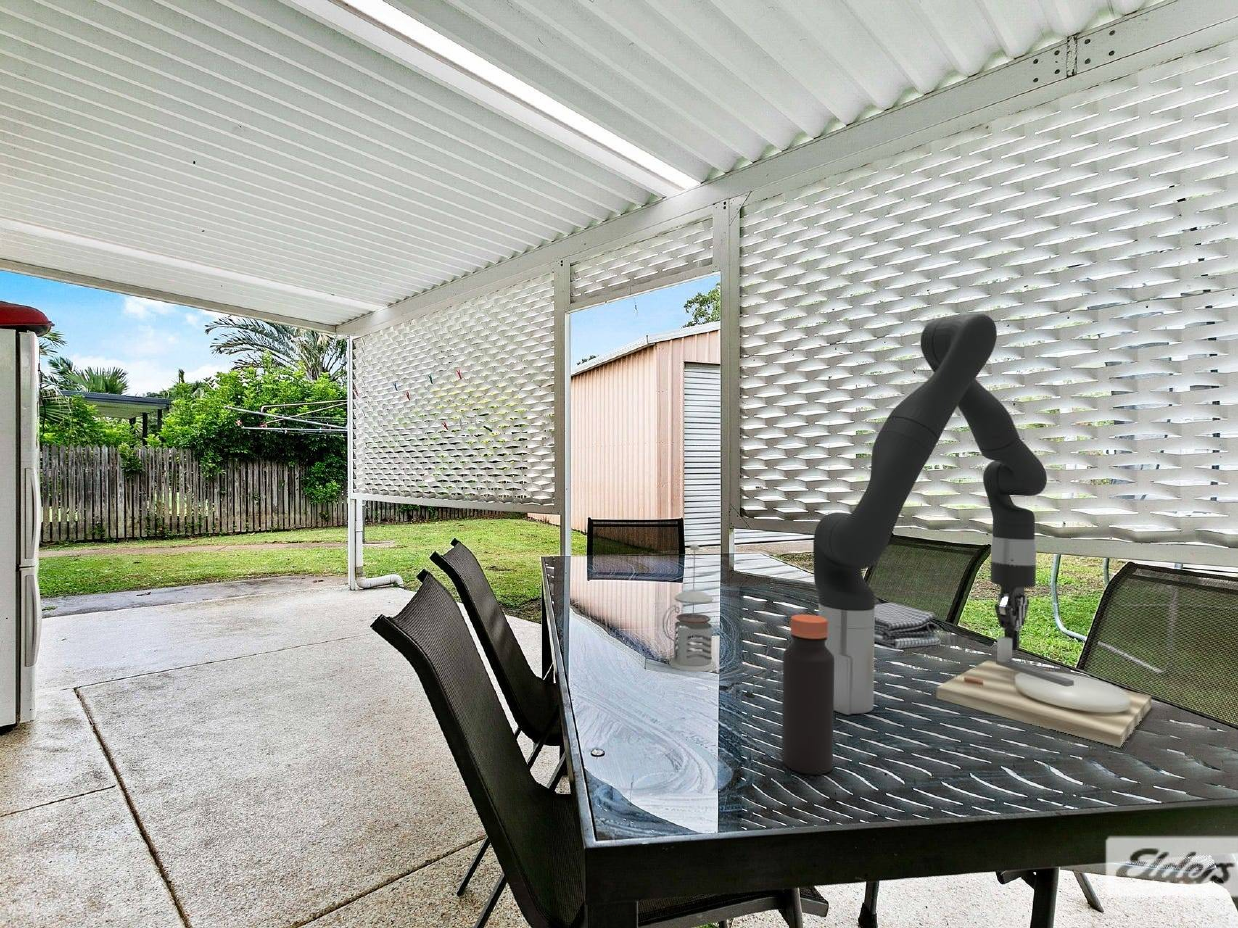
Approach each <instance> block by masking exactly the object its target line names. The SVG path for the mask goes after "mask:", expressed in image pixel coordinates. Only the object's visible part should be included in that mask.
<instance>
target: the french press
mask: <svg viewBox="0 0 1238 928" xmlns="http://www.w3.org/2000/svg"><path fill="white" fill-rule="evenodd" d="M689 550H691V551H693V576H695V567H696V566H695V564H696V563H695V562H696V560H695V559H696V551H699V550H700V545H698V544H696V543H693V544H691V545H690V546H689ZM692 581H693V584H692V585H693V589H691V590H684V591H682V592H680V593H678V594H676V595H675V596H674V600H675V602H677V603H682V604H690V605H692V613H691V612H690V613H689V612H688V613H687V612H686V613H680V610H681V609H680V607H679V606H676V605H675V604H673V605H670V606H669V607H668V608H667V610H665V613H664V614H663V618H662V629H663V631H662V632H663V634H664V635H665V637H666V638H667V639H669V640H671V641H672V642H673V657H672V659H670V661H669V662H668V663H669V665H670V666H671V667H672V668H674V669H676V670H681V671H684V672H695V673H696V672H707V671H712V670H714V669H715V668H716V667H717V664H716V662H715V661H713V660H712V639H713V637H712V636H713V635H712V631H713V630H712V629H713V624H711V623H709V622H710V621H711V616H709V615H706V614H700V613H695V610H694V609H695V605H702V604H703V605H704V604H710V603H712V602H713V600H714V598H713V597H712V596H710V595H709V594H707V593H706V592H703V591H701V590H696V589H695V578H693V580H692ZM673 607H674V608H673ZM671 608H673V609H672V610H671V611H669V610H670V609H671ZM677 609H678V611H677ZM674 611H675V613H676V614H677V615H676V617H675V619H677V621H676V622H674V636H673V637H674V639H673V637H671V636H670V633H669V629H668V623H669V619H670V616H671V614H672V613H673V612H674ZM668 612H669V614H668V616H667V619H666V615H667V613H668ZM665 619H666V623H665ZM665 624H666V625H665ZM685 627H686V628H685ZM691 636H692V638H691ZM691 643H693V644H691ZM692 649H694V650H692Z"/></svg>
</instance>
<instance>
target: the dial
mask: <svg viewBox="0 0 1238 928" xmlns="http://www.w3.org/2000/svg"><path fill="white" fill-rule="evenodd" d="M996 641H997V642H996V643H997V645H996V646H997V647H996V648H997V650H996V651H997V653H996V655H997V656H996V658H997V659H995V662H996V664H997V665H1000V666H1003V667H1007V668H1010V669H1013V670H1016V671H1019V672H1021V673H1018V674H1017V675H1016V676H1015V686H1016V688H1017V689H1018V690H1019V691H1020V692H1022V693H1024V694H1026V695H1028V696H1030V697H1032V698H1035V699H1037V700H1040V701H1043V702H1047V703H1050V704H1054V705H1058V706H1062V707H1066V708H1071V709H1077V710H1083V711H1091V712H1106V713H1112V712H1122V711H1126V710H1128V709H1129V708H1130V696H1129V694H1128V693H1126V692H1125V691H1123V690H1124V689H1122V688H1120V687H1118V686H1115V685H1113V684H1110V683H1107V682H1104V681H1101V680H1097V679H1094V678H1090V677H1086V676H1082V675H1081V676H1080V675H1077V674H1076V675H1075V674H1072V673H1071V674H1070V673H1064V672H1059V671H1058V672H1057V671H1047V670H1046V671H1045V670H1041V669H1037V668H1034V667H1031V666H1028V665H1024V664H1021V663H1017V662H1014V661H1013V650H1012V638H1009V637H1004V636H1002V635H1000V636H999V635H998V636H997V639H996Z"/></svg>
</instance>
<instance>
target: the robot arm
mask: <svg viewBox="0 0 1238 928" xmlns="http://www.w3.org/2000/svg"><path fill="white" fill-rule="evenodd" d="M997 338H998V333H997V326H996V323H995V321H994V320H993V319H992V318H991V317H990V316H989V315H986V314H984V313H965V314H960V315H955V316H954V315H952V316H947V317H941V318H938V319H934V320H932V321H930V322H929V323H927V324H926V326H925V327H924V328H923V330H922V333H921V335H920V349H921V353H922V356H923V357H924V359H925V361H926V363H927V364H928V367H930V369H931V370H932V372H933V374H932V375H931V376H930V377H929V378H928V379H927V380H926V381H925V382H924V383H922V385H920V386H919V387H918V388H917V389H915V390H914V391H912V392H911V393H910V394H908V396H906V397H905V398H904V399H902V400H901V402H899V404H897V405H896V406H895V407H894V408H893V409H892V410H891V412H890V414H889V415H888V417H887V418H886V420H885V422H884V423H883V425H882V427H881V428H880V430H879V432H878V434H877V436H876V438H875V440H874V442H873V445H872V448H871V449H872V451H871V461H870V465H871V466H870V477H869V481H868V484H867V487H866V489H865V492H864V493H863V494H862V497H861V498H860V500H859V502H858V503H857V505H856V506H855V508H854V509H853V511H852V512H851V513H849V512H839V511H838V512H837V511H836V512H831V513H828V514H826V515H825V516H823V517H822V518H821V519H820V520H819V522H818V523H817V524H816V527H815V531H814V533H813V546H812V551H813V575H814V576H813V581H814V585H815V589H816V591H817V594H818V616H820V617H823V618H825V619H827V620H828V635H827V640H826V641H825V646H826V648H827V649H828V650H829V651H830V652H831V653H832V655H833V656H834V711H835V712H838V713H840V714H844V715H846V716H847V715H852V714H866V713H869V712H872V711H873V709H874V695H875V694H874V691H875V690H874V689H875V688H874V686H875V684H874V682H875V681H874V680H875V679H874V678H875V677H874V675H875V673H874V672H875V641H874V625H875V605H876V604H875V603H876V597H875V596H876V595H875V592H874V590H873V589H872V588H871V587H870V586H869V585H868V583H867V582H866V579H864V576H863V574H862V570H864V569H868V568H870V567H872V566H873V565H875V564H876V563H877V562H878V561H879V560H880V559H881V557H882V556H883V554H884V553H885V550H886V548H887V547H888V544H889V541H890V539H891V536H892V533H893V532H894V529H895V527H896V524H897V521H898V519H899V516H900V514H901V512H902V509H903V507H904V506H905V503H906V500H907V499H908V497H909V495H910V493H911V491H913V488H914V485H915V484H916V481H917V480H918V478H919V476H920V474H921V472H922V470H923V469H924V468H925V466H926V464H927V462H928V461H929V459H930V457H931V455H932V453H933V452H934V450H935V447H936V446H937V444H938V442H939V440H940V438H941V437H942V436H941V435H942V434H943V432H944V430H945V428H946V426H947V424H948V423H949V421H950V420H951V417H952V416H953V414H954V412H955V411H956V409H957V407H958V409H959V411H960V412H961V414H962V416H963V418H964V419H965V422H966V423H967V425H968V428H969V429H970V431H971V433H972V434H971V435H972V436H973V438H974V440H975V443H976V444H977V447H978V449H979V452H980V453H981V455H982V456H983V457H984V458H985V459H988V460H990V461H991V462H990V463H988V464H987V466H986V467H985V469H984V472H983V476H982V482H983V483H982V484H983V486H984V490H985V493H986V497H987V500H988V503H989V508H990V511H991V515H992V539H991V540H992V541H991V547H990V579H989V580H990V582H991V583H992V584H994V585H997V586H1000V592H999V593H998V595H997V602H998V603H995V605H994V611H995V614H996V617H997V621H998V624H999V628H1002V629H1003V630H1004V636H1003V637H1009V638H1012V651H1017V650H1019V648H1020V631H1021V630H1022V629H1023V626H1024V625H1025V621H1026V617H1027V613H1028V608H1029V604H1030V600H1029V599H1028V597H1027V595H1025V594H1026V591H1025V589H1029V588H1030V589H1031V588H1034V587H1035V586H1036V585H1037V584H1036V583H1037V580H1036V579H1037V577H1036V576H1037V575H1036V574H1037V571H1036V570H1037V568H1036V567H1037V548H1036V542H1035V541H1036V540H1035V539H1036V538H1035V537H1036V536H1035V533H1036V532H1035V531H1036V529H1035V528H1036V527H1035V525H1036V518H1035V513H1034V512H1033V511H1032V510H1031V509H1028V508H1024V507H1020V506H1017V505H1016V504H1014V502H1013V500H1012V499H1013V498H1012V497H1011V496H1015V497H1016V496H1017V497H1019V496H1020V497H1033V496H1037V495H1040V494H1041V493H1042V492H1043V491H1044V489H1045V488H1046V485H1047V482H1048V477H1047V472H1046V468H1045V467H1044V465H1043V463H1042V462H1041V460H1040V459H1039V458H1038V457H1037V455H1035V453H1034V452H1033V451H1032V450H1031V449H1030V448H1029V447H1028V446H1027V444H1026V443H1025V442H1024V441H1023V440H1022V439H1021V438H1020V435H1019V433H1018V431H1017V427H1016V425H1015V423H1014V421H1013V419H1012V416H1011V414H1010V412H1009V411H1008V410H1007V408H1006V407H1005V406H1004V404H1003V403H1002V402H1001V401H1000V400H999V399H997V397H995V396H994V395H993V394H992V393H991V392H990V391H988V389H986V388H985V387H984V386H983V385H982V384H981V383H980V382H979V381H978V380H977V379H976V378H977V377H978V375H979V374H980V372H981V371H982V370H983V368H984V367H985V365H986V364H987V362H988V360H990V357H991V355H992V353H993V352H994V349H995V346H996V343H997Z"/></svg>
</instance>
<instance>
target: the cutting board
mask: <svg viewBox="0 0 1238 928" xmlns="http://www.w3.org/2000/svg"><path fill="white" fill-rule="evenodd" d="M1018 673H1021V672H1019V671H1016V670H1013V669H1010V668H1007V667H1003V666H1000V665H997V664H996V661H992V660H989V659H987V660H986V661H984V662H982V663H980V664H978V665H976V666H974V667H972V668H971V669H968V670H966V671H965V672H963V673H961V674H959V675H957V676H954V677H953V678H951V679H950V680H948V681H946V682H944V683H941V684H940V685H939V686H938V685H937V687H936V699H938V700H940V701H941V700H942V701H945V702H949V703H951V704H952V703H953V704H955V705H956V704H957V705H960V706H963V707H966V708H969V709H970V708H971V709H974V710H978V711H981V712H985V713H988V714H991V715H997V716H999V717H1003V718H1007V719H1010V720H1013V721H1018V722H1022V723H1025V724H1028V725H1031V724H1032V726H1035V727H1039V726H1040V727H1039V728H1042V727H1043V728H1042V729H1046V730H1050V729H1053V730H1056V731H1055V732H1057V731H1059V732H1058V733H1060V732H1064V733H1067V734H1066V735H1068V734H1072V735H1075V736H1079V737H1084V738H1087V739H1091V740H1095V741H1099V742H1104V743H1106V744H1109V745H1114V746H1117V747H1121V745H1122V744H1123V742H1125V743H1126V741H1127V740H1128V739H1127V737H1128V738H1130V736H1131V735H1132V733H1134V731H1135V730H1136V728H1137V727H1138V726H1139V724H1140V723H1141V722H1140V721H1142V720H1143V719H1144V718H1145V716H1146V715H1147V714H1148V712H1149V711H1150V710H1151V708H1152V696H1151V695H1150V694H1149V695H1148V694H1143V693H1139V692H1135V691H1129V690H1125V689H1122V690H1123V691H1125V692H1126V693H1128V694H1129V696H1130V708H1129V709H1128V710H1126V711H1122V712H1112V713H1106V712H1091V711H1083V710H1077V709H1071V708H1066V707H1062V706H1058V705H1054V704H1050V703H1047V702H1043V701H1040V700H1037V699H1035V698H1032V697H1030V696H1028V695H1026V694H1024V693H1022V692H1020V691H1019V690H1018V689H1017V688H1016V686H1015V676H1016V675H1017V674H1018ZM1142 718H1143V719H1142ZM1139 722H1140V723H1139ZM1137 725H1138V726H1137ZM1136 726H1137V727H1136ZM1135 727H1136V728H1135ZM1053 730H1052V731H1053ZM1133 730H1134V731H1133ZM1064 733H1063V734H1064ZM1130 734H1131V735H1130ZM1129 735H1130V736H1129ZM1075 736H1074V737H1075ZM1126 739H1127V740H1126ZM1125 740H1126V741H1125ZM1123 745H1124V744H1123ZM1123 745H1122V746H1123ZM1121 748H1122V747H1121Z"/></svg>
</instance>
